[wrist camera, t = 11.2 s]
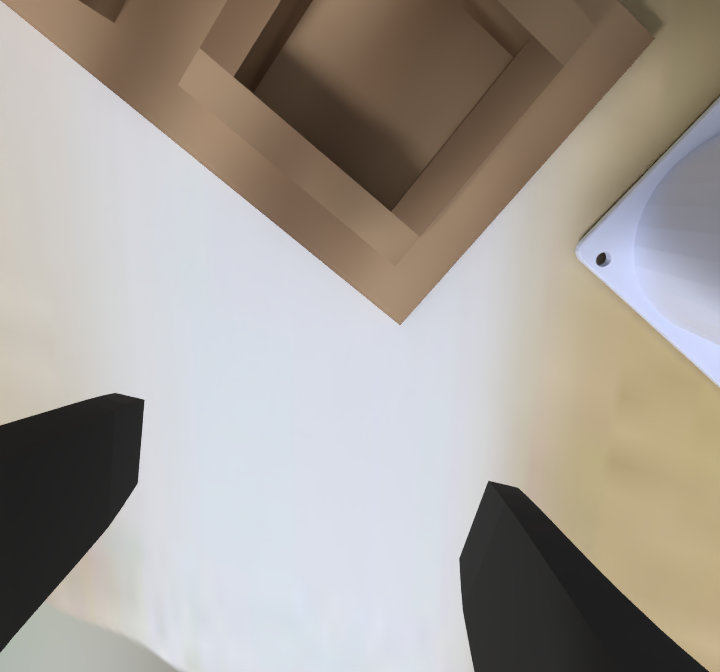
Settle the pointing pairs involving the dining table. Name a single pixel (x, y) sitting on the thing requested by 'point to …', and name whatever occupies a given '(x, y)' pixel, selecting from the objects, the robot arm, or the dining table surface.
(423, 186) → the walnut rack
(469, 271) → the dining table surface
